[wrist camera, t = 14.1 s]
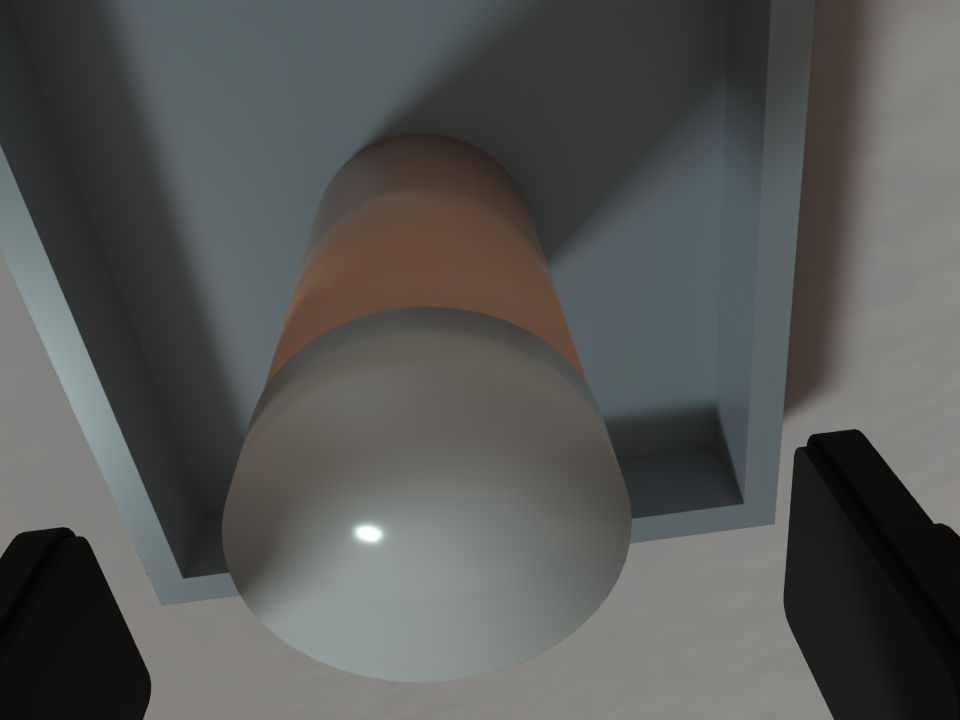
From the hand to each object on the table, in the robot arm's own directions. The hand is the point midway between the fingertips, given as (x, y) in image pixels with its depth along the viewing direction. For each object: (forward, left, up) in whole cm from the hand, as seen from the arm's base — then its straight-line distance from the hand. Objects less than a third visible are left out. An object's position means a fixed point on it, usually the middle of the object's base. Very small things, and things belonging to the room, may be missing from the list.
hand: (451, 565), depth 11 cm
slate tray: (0, -1, -10) cm, 10 cm away
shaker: (0, -1, -10) cm, 10 cm away
